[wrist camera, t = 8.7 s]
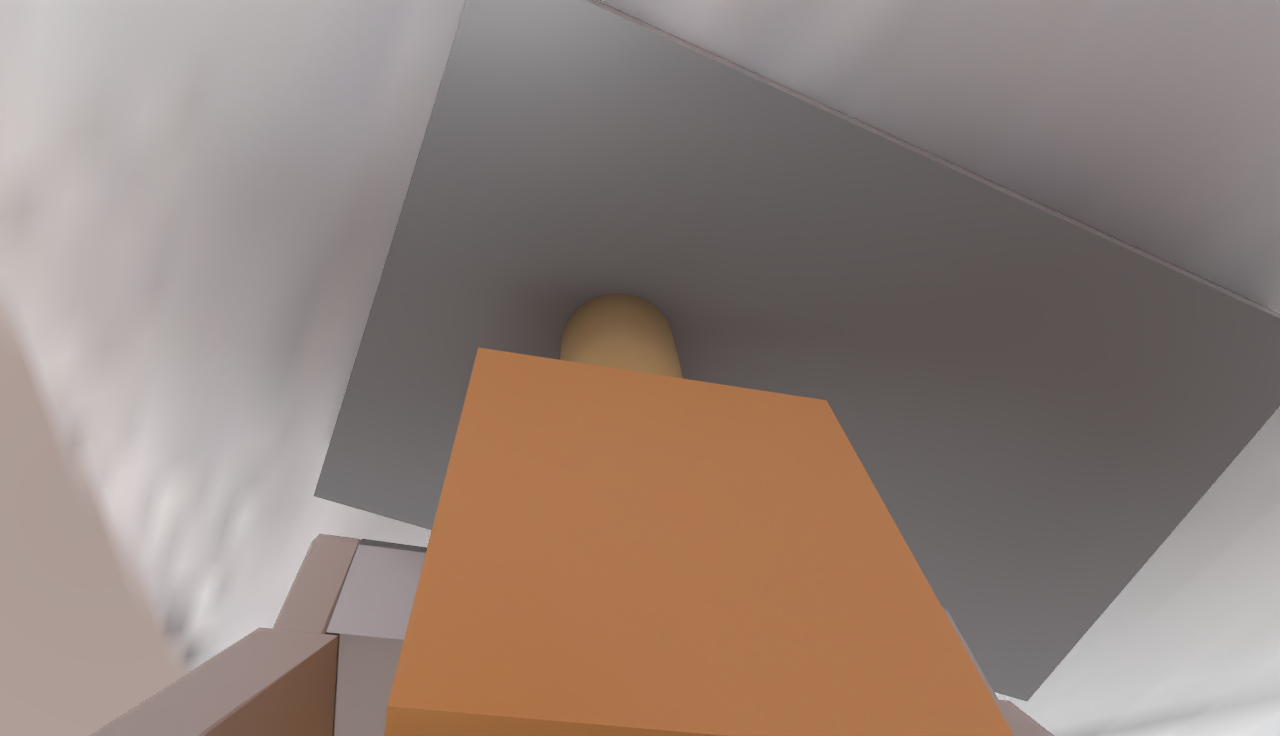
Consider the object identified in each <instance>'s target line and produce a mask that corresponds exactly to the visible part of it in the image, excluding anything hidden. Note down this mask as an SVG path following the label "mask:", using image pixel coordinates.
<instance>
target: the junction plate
mask: <svg viewBox="0 0 1280 736" xmlns="http://www.w3.org/2000/svg"><path fill="white" fill-rule="evenodd" d="M478 347H479V348H485V349H492V350H499V351H505V352H512V353H518V354H525V355H531V356H538V357H545V358H551V359H558V360H564V361H571V362H577V363H584V364H591V365H597V366H604V367H610V368H617V369H624V370H630V371H637V372H643V373H650V374H656V375H663V376H670V377H676V378H683V379H689V380H696V381H702V382H709V383H716V384H722V385H729V386H735V387H742V388H748V389H755V390H762V391H768V392H775V393H781V394H788V395H795V396H801V397H808V398H814V399H821V400H827V402H828V404H829V406H830V408H831V409H832V411H833V413H834V415H835V416H836V418H837V420H838V422H839V424H840V425H841V427H842V429H843V431H844V433H845V434H846V436H847V438H848V440H849V442H850V443H851V445H852V447H853V449H854V450H855V452H856V454H857V456H858V458H859V459H860V461H861V463H862V465H863V467H864V468H865V470H866V472H867V474H868V476H869V477H870V479H871V481H872V483H873V484H874V486H875V488H876V490H877V492H878V493H879V495H880V497H881V499H882V501H883V502H884V504H885V506H886V508H887V510H888V511H889V513H890V515H891V517H892V518H893V520H894V522H895V524H896V526H897V527H898V529H899V531H900V533H901V535H902V536H903V538H904V540H905V542H906V544H907V545H908V547H909V549H910V551H911V552H912V554H913V556H914V558H915V560H916V561H917V563H918V565H919V567H920V569H921V570H922V572H923V574H924V576H925V578H926V579H927V581H928V583H929V585H930V586H931V588H932V590H933V592H934V594H935V595H936V597H937V599H938V601H939V603H940V604H941V606H942V607H943V608H944V609H946V610H947V611H948V612H949V614H950V616H951V617H952V619H953V621H954V623H955V624H956V626H957V628H958V630H959V631H960V633H961V635H962V637H963V638H964V640H965V642H966V644H967V645H968V647H969V649H970V651H971V652H972V654H973V656H974V658H975V659H976V661H977V663H978V665H979V666H980V668H981V670H982V672H983V674H984V675H985V677H986V679H987V681H988V682H989V684H990V686H991V688H992V689H993V691H994V692H997V693H1000V694H1003V695H1007V696H1010V697H1014V698H1017V699H1021V700H1024V701H1028V700H1029V698H1030V697H1031V696H1032V695H1033V694H1034V693H1035V691H1036V690H1037V689H1038V688H1039V687H1040V686H1041V684H1042V683H1043V682H1044V681H1045V680H1046V679H1047V677H1048V676H1049V675H1050V674H1051V673H1052V672H1053V670H1054V669H1055V668H1056V667H1057V666H1058V665H1059V663H1060V662H1061V661H1062V660H1063V659H1064V658H1065V656H1066V655H1067V654H1068V653H1069V652H1070V651H1071V649H1072V648H1073V647H1074V646H1075V645H1076V644H1077V642H1078V641H1079V640H1080V639H1081V638H1082V636H1083V635H1084V634H1085V633H1086V632H1087V631H1088V629H1089V628H1090V627H1091V626H1092V625H1093V624H1094V622H1095V621H1096V620H1097V619H1098V618H1099V617H1100V615H1101V614H1102V613H1103V612H1104V611H1105V610H1106V608H1107V607H1108V606H1109V605H1110V604H1111V603H1112V601H1113V600H1114V599H1115V598H1116V597H1117V596H1118V594H1119V593H1120V592H1121V591H1122V590H1123V589H1124V587H1125V586H1126V585H1127V584H1128V583H1129V581H1130V580H1131V579H1132V578H1133V577H1134V576H1135V574H1136V573H1137V572H1138V571H1139V570H1140V569H1141V567H1142V566H1143V565H1144V564H1145V563H1146V562H1147V560H1148V559H1149V558H1150V557H1151V556H1152V555H1153V553H1154V552H1155V551H1156V550H1157V549H1158V548H1159V546H1160V545H1161V544H1162V543H1163V542H1164V541H1165V539H1166V538H1167V537H1168V536H1169V535H1170V534H1171V532H1172V531H1173V530H1174V529H1175V528H1176V527H1177V525H1178V524H1179V523H1180V522H1181V521H1182V519H1183V518H1184V517H1185V516H1186V515H1187V514H1188V512H1189V511H1190V510H1191V509H1192V508H1193V507H1194V505H1195V504H1196V503H1197V502H1198V501H1199V500H1200V498H1201V497H1202V496H1203V495H1204V494H1205V493H1206V491H1207V490H1208V489H1209V488H1210V487H1211V486H1212V484H1213V483H1214V482H1215V481H1216V480H1217V479H1218V477H1219V476H1220V475H1221V474H1222V473H1223V472H1224V470H1225V469H1226V468H1227V467H1228V466H1229V464H1230V463H1231V462H1232V461H1233V460H1234V459H1235V457H1236V456H1237V455H1238V454H1239V453H1240V452H1241V450H1242V449H1243V448H1244V447H1245V446H1246V445H1247V443H1248V442H1249V441H1250V440H1251V439H1252V438H1253V436H1254V435H1255V434H1256V433H1257V432H1258V431H1259V429H1260V428H1261V427H1262V426H1263V425H1264V424H1265V422H1266V421H1267V420H1268V419H1269V418H1270V417H1271V415H1272V414H1273V413H1274V412H1275V411H1276V410H1277V408H1278V407H1279V406H1280V315H1279V314H1277V313H1275V312H1274V311H1272V310H1270V309H1268V308H1266V307H1263V306H1261V305H1259V304H1257V303H1255V302H1252V301H1250V300H1248V299H1246V298H1244V297H1242V296H1239V295H1237V294H1235V293H1233V292H1231V291H1228V290H1226V289H1224V288H1222V287H1220V286H1218V285H1215V284H1213V283H1211V282H1209V281H1207V280H1205V279H1202V278H1200V277H1198V276H1196V275H1194V274H1191V273H1189V272H1187V271H1185V270H1183V269H1181V268H1178V267H1176V266H1174V265H1172V264H1170V263H1167V262H1165V261H1163V260H1161V259H1159V258H1157V257H1154V256H1152V255H1150V254H1148V253H1146V252H1143V251H1141V250H1139V249H1137V248H1135V247H1133V246H1130V245H1128V244H1126V243H1124V242H1122V241H1119V240H1117V239H1115V238H1113V237H1111V236H1109V235H1106V234H1104V233H1102V232H1100V231H1098V230H1096V229H1093V228H1091V227H1089V226H1087V225H1085V224H1082V223H1080V222H1078V221H1076V220H1074V219H1072V218H1069V217H1067V216H1065V215H1063V214H1061V213H1058V212H1056V211H1054V210H1052V209H1050V208H1048V207H1045V206H1043V205H1041V204H1039V203H1037V202H1034V201H1032V200H1030V199H1028V198H1026V197H1024V196H1021V195H1019V194H1017V193H1015V192H1013V191H1010V190H1008V189H1006V188H1004V187H1002V186H1000V185H997V184H995V183H993V182H991V181H989V180H987V179H984V178H982V177H980V176H978V175H976V174H973V173H971V172H969V171H967V170H965V169H963V168H960V167H958V166H956V165H954V164H952V163H949V162H947V161H945V160H943V159H941V158H939V157H936V156H934V155H932V154H930V153H928V152H925V151H923V150H921V149H919V148H917V147H915V146H912V145H910V144H908V143H906V142H904V141H901V140H899V139H897V138H895V137H893V136H891V135H888V134H886V133H884V132H882V131H880V130H878V129H875V128H873V127H871V126H869V125H867V124H864V123H862V122H860V121H858V120H856V119H854V118H851V117H849V116H847V115H845V114H843V113H840V112H838V111H836V110H834V109H832V108H830V107H827V106H825V105H823V104H821V103H819V102H816V101H814V100H812V99H810V98H808V97H806V96H803V95H801V94H799V93H797V92H795V91H792V90H790V89H788V88H786V87H784V86H782V85H779V84H777V83H775V82H773V81H771V80H769V79H766V78H764V77H762V76H760V75H758V74H755V73H753V72H751V71H749V70H747V69H745V68H742V67H740V66H738V65H736V64H734V63H731V62H729V61H727V60H725V59H723V58H721V57H718V56H716V55H714V54H712V53H710V52H707V51H705V50H703V49H701V48H699V47H697V46H694V45H692V44H690V43H688V42H686V41H683V40H681V39H679V38H677V37H675V36H673V35H670V34H668V33H666V32H664V31H662V30H660V29H657V28H655V27H653V26H651V25H649V24H646V23H644V22H642V21H640V20H638V19H636V18H633V17H631V16H629V15H627V14H625V13H622V12H620V11H618V10H616V9H614V8H612V7H609V6H607V5H605V4H603V3H601V2H598V1H596V0H466V3H465V6H464V9H463V13H462V16H461V19H460V22H459V26H458V29H457V32H456V35H455V39H454V42H453V45H452V48H451V52H450V55H449V58H448V61H447V65H446V68H445V71H444V74H443V78H442V81H441V84H440V87H439V91H438V94H437V97H436V100H435V104H434V107H433V110H432V113H431V117H430V120H429V123H428V126H427V130H426V133H425V136H424V139H423V143H422V146H421V149H420V152H419V156H418V159H417V162H416V165H415V169H414V172H413V175H412V178H411V181H410V185H409V188H408V191H407V194H406V198H405V201H404V204H403V207H402V211H401V214H400V217H399V220H398V224H397V227H396V230H395V233H394V237H393V240H392V243H391V246H390V250H389V253H388V256H387V259H386V263H385V266H384V269H383V272H382V276H381V279H380V282H379V285H378V289H377V292H376V295H375V298H374V302H373V305H372V308H371V311H370V315H369V318H368V321H367V324H366V328H365V331H364V334H363V337H362V341H361V344H360V347H359V350H358V354H357V357H356V360H355V363H354V367H353V370H352V373H351V376H350V380H349V383H348V386H347V389H346V393H345V396H344V399H343V402H342V406H341V409H340V412H339V415H338V419H337V422H336V425H335V428H334V432H333V435H332V438H331V441H330V445H329V448H328V451H327V454H326V458H325V461H324V464H323V467H322V471H321V474H320V477H319V480H318V484H317V487H316V490H315V493H314V496H316V497H319V498H323V499H326V500H330V501H333V502H337V503H340V504H344V505H347V506H351V507H354V508H358V509H361V510H365V511H368V512H371V513H375V514H378V515H382V516H385V517H389V518H392V519H396V520H399V521H403V522H406V523H410V524H413V525H417V526H420V527H424V528H427V529H431V530H432V527H433V524H434V520H435V516H436V512H437V508H438V504H439V500H440V496H441V492H442V488H443V484H444V480H445V476H446V472H447V468H448V464H449V461H450V457H451V453H452V449H453V445H454V441H455V437H456V433H457V429H458V425H459V421H460V417H461V413H462V409H463V405H464V401H465V398H466V394H467V390H468V386H469V382H470V378H471V374H472V370H473V366H474V362H475V358H476V354H477V350H478Z"/></svg>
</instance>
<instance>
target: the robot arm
mask: <svg viewBox="0 0 1280 736" xmlns="http://www.w3.org/2000/svg"><path fill="white" fill-rule="evenodd" d="M426 551H427V548H425V547H418V546H410V545H403V544H396V543H389V542H381V541H374V540H367V539H362V540H360V539H355V538H348V537H340V536H332V535H325V534H319V535H318V536H317V537H316V538H315V539H314V540H313V541H312V543H311V545H310V548H309V550H308V552H307V554H306V556H305V558H304V561H303V563H302V565H301V567H300V569H299V572H298V574H297V576H296V578H295V580H294V583H293V585H292V587H291V589H290V591H289V594H288V596H287V598H286V600H285V602H284V605H283V607H282V609H281V611H280V613H279V616H278V618H277V620H276V622H275V624H274V627H273V629H269V628H258V629H256V630H255V631H253V632H252V633H250V634H249V635H247V636H245V637H244V638H242V639H241V640H239V641H238V642H236V643H234V644H233V645H231V646H230V647H228V648H227V649H225V650H223V651H222V652H220V653H219V654H217V655H215V656H214V657H212V658H211V659H209V660H208V661H206V662H204V663H203V664H201V665H200V666H198V667H197V668H195V669H193V670H192V671H190V672H189V673H187V674H186V675H184V676H182V677H181V678H179V679H178V680H176V681H175V682H173V683H171V684H170V685H168V686H167V687H165V688H163V689H162V690H160V691H159V692H157V693H156V694H154V695H152V696H151V697H149V698H148V699H146V700H145V701H143V702H141V703H140V704H138V705H137V706H135V707H134V708H132V709H130V710H129V711H127V712H126V713H124V714H123V715H121V716H119V717H118V718H116V719H115V720H113V721H111V722H110V723H108V724H107V725H105V726H104V727H102V728H101V729H99V730H97V731H96V732H94V733H93V734H91V735H89V736H384V733H385V723H386V713H387V705H388V701H389V697H390V693H391V689H392V685H393V681H394V677H395V673H396V669H397V665H398V661H399V657H400V654H401V650H402V646H403V642H404V638H405V634H406V630H407V626H408V622H409V618H410V614H411V610H412V606H413V602H414V598H415V594H416V591H417V587H418V583H419V579H420V575H421V571H422V567H423V563H424V559H425V555H426ZM942 608H943V607H942ZM943 610H944V612H945V613H946V615H947V617H948V619H949V620H950V622H951V624H952V626H953V628H954V629H955V631H956V633H957V635H958V637H959V638H960V640H961V642H962V644H963V646H964V647H965V649H966V651H967V653H968V654H969V656H970V658H971V660H972V662H973V663H974V665H975V667H976V669H977V671H978V672H979V674H980V676H981V678H982V680H983V681H984V683H985V685H986V687H987V688H988V690H989V692H990V694H991V696H992V697H993V699H994V701H995V703H996V705H997V706H998V708H999V710H1000V712H1001V714H1002V715H1003V717H1004V719H1005V721H1006V722H1007V724H1008V726H1009V728H1010V730H1011V731H1012V733H1013V735H1014V736H1054V735H1053V734H1051V733H1050V732H1049V731H1047V730H1046V729H1045V728H1044V727H1042V726H1041V725H1040V724H1038V723H1037V722H1036V721H1035V720H1033V719H1032V718H1031V717H1029V716H1028V715H1027V714H1026V713H1024V712H1023V711H1022V710H1020V709H1019V708H1018V707H1016V706H1015V705H1014V704H1013V703H1011V702H1010V701H1005V700H998V698H997V696H996V695H995V693H994V691H993V689H992V688H991V686H990V684H989V682H988V681H987V679H986V677H985V675H984V674H983V672H982V670H981V668H980V666H979V665H978V663H977V661H976V659H975V658H974V656H973V654H972V652H971V651H970V649H969V647H968V645H967V644H966V642H965V640H964V638H963V637H962V635H961V633H960V631H959V630H958V628H957V626H956V624H955V623H954V621H953V619H952V617H951V616H950V614H949V612H948V611H947V610H946V609H944V608H943Z"/></svg>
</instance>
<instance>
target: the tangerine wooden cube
mask: <svg viewBox="0 0 1280 736" xmlns="http://www.w3.org/2000/svg"><path fill="white" fill-rule="evenodd" d="M384 736H1014V735H1013V733H1012V731H1011V730H1010V728H1009V726H1008V724H1007V722H1006V721H1005V719H1004V717H1003V715H1002V714H1001V712H1000V710H999V708H998V706H997V705H996V703H995V701H994V699H993V697H992V696H991V694H990V692H989V690H988V688H987V687H986V685H985V683H984V681H983V680H982V678H981V676H980V674H979V672H978V671H977V669H976V667H975V665H974V663H973V662H972V660H971V658H970V656H969V654H968V653H967V651H966V649H965V647H964V646H963V644H962V642H961V640H960V638H959V637H958V635H957V633H956V631H955V629H954V628H953V626H952V624H951V622H950V620H949V619H948V617H947V615H946V613H945V612H944V610H943V608H942V606H941V604H940V603H939V601H938V599H937V597H936V595H935V594H934V592H933V590H932V588H931V586H930V585H929V583H928V581H927V579H926V578H925V576H924V574H923V572H922V570H921V569H920V567H919V565H918V563H917V561H916V560H915V558H914V556H913V554H912V552H911V551H910V549H909V547H908V545H907V544H906V542H905V540H904V538H903V536H902V535H901V533H900V531H899V529H898V527H897V526H896V524H895V522H894V520H893V518H892V517H891V515H890V513H889V511H888V510H887V508H886V506H885V504H884V502H883V501H882V499H881V497H880V495H879V493H878V492H877V490H876V488H875V486H874V484H873V483H872V481H871V479H870V477H869V476H868V474H867V472H866V470H865V468H864V467H863V465H862V463H861V461H860V459H859V458H858V456H857V454H856V452H855V450H854V449H853V447H852V445H851V443H850V442H849V440H848V438H847V436H846V434H845V433H844V431H843V429H842V427H841V425H840V424H839V422H838V420H837V418H836V416H835V415H834V413H833V411H832V409H831V408H830V406H829V404H828V402H827V400H821V399H814V398H808V397H801V396H795V395H788V394H781V393H775V392H768V391H762V390H755V389H748V388H742V387H735V386H729V385H722V384H716V383H709V382H702V381H696V380H689V379H683V378H676V377H670V376H663V375H656V374H650V373H643V372H637V371H630V370H624V369H617V368H610V367H604V366H597V365H591V364H584V363H577V362H571V361H564V360H558V359H551V358H545V357H538V356H531V355H525V354H518V353H512V352H505V351H499V350H492V349H485V348H479V347H478V350H477V354H476V358H475V362H474V366H473V370H472V374H471V378H470V382H469V386H468V390H467V394H466V398H465V401H464V405H463V409H462V413H461V417H460V421H459V425H458V429H457V433H456V437H455V441H454V445H453V449H452V453H451V457H450V461H449V464H448V468H447V472H446V476H445V480H444V484H443V488H442V492H441V496H440V500H439V504H438V508H437V512H436V516H435V520H434V524H433V527H432V531H431V535H430V539H429V543H428V547H427V551H426V555H425V559H424V563H423V567H422V571H421V575H420V579H419V583H418V587H417V591H416V594H415V598H414V602H413V606H412V610H411V614H410V618H409V622H408V626H407V630H406V634H405V638H404V642H403V646H402V650H401V654H400V657H399V661H398V665H397V669H396V673H395V677H394V681H393V685H392V689H391V693H390V697H389V701H388V705H387V713H386V723H385V733H384Z"/></svg>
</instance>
